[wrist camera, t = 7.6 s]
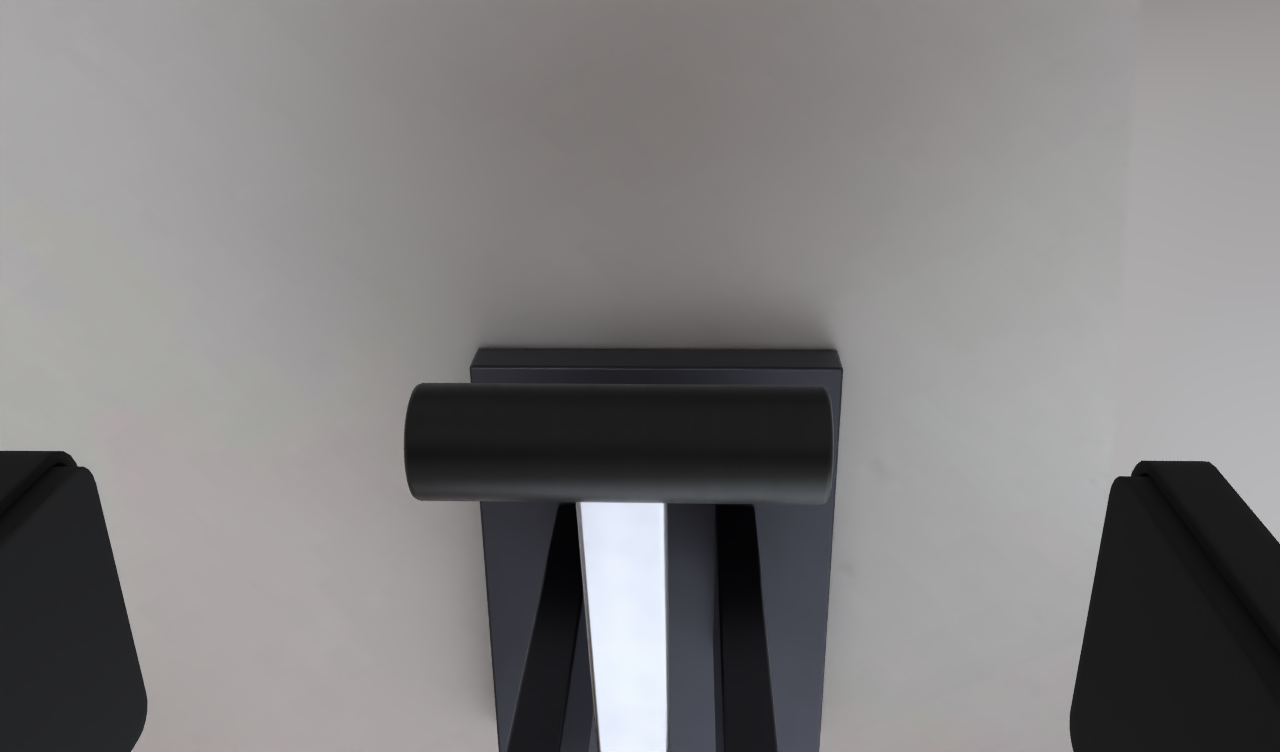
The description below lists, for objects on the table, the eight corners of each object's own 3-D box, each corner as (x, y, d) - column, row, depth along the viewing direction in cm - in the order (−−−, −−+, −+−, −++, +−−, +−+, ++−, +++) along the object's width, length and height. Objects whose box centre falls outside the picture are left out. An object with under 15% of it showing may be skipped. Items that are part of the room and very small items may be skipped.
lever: (425, 334, 15) (387, 469, 13) (823, 336, 14) (842, 474, 13) (519, 848, 23) (504, 974, 21) (771, 854, 23) (777, 981, 21)
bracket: (477, 347, 29) (332, 666, 17) (837, 348, 29) (937, 676, 17) (505, 728, 34) (405, 1180, 22) (814, 734, 34) (880, 1197, 22)
